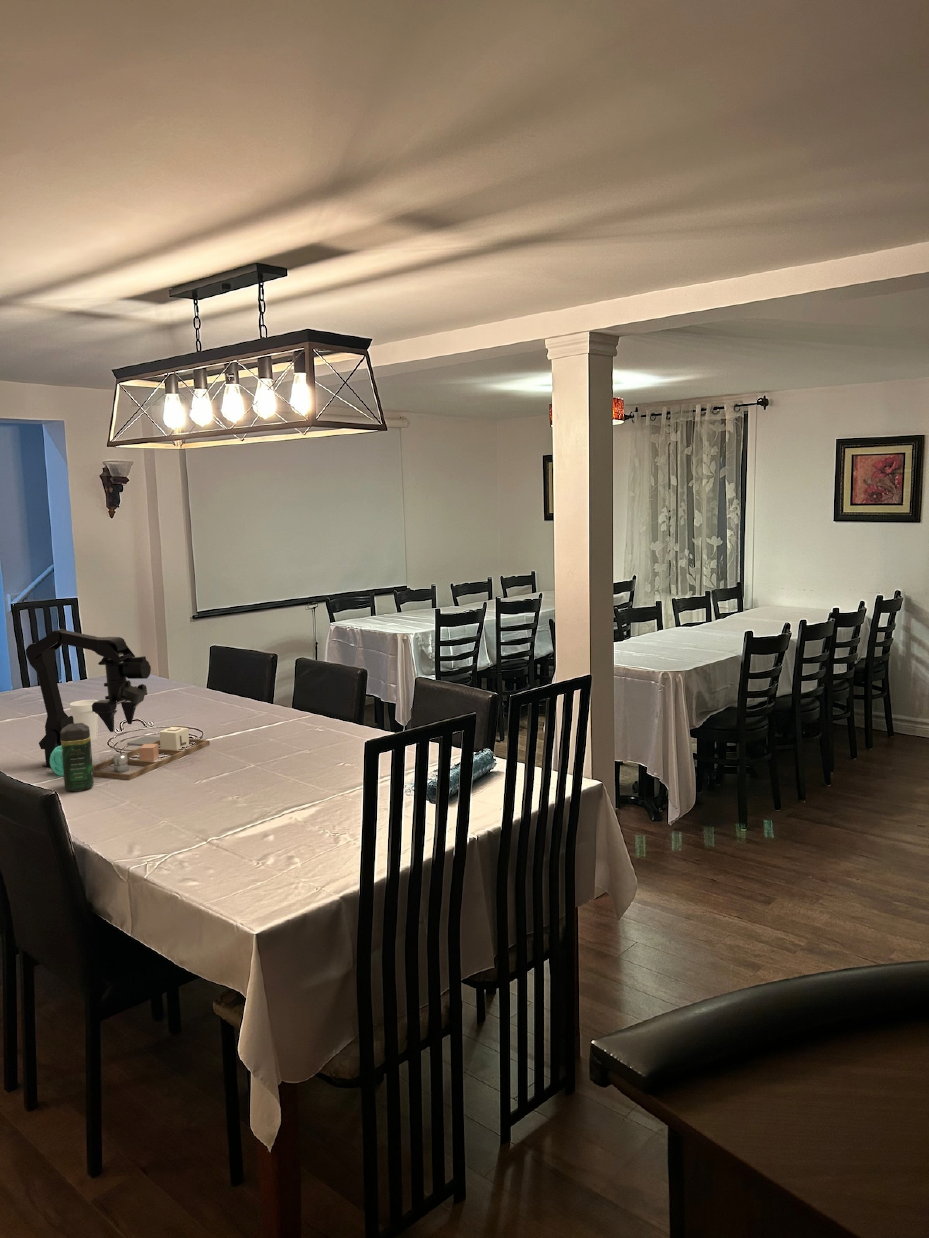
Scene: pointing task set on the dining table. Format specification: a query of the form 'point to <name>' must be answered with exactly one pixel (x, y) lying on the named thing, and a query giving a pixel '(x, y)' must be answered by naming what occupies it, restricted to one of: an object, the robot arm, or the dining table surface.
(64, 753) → the coffee jar
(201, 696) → the dining table surface
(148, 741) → the slate pad
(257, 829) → the dining table surface
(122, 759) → the grey metal canister
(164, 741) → the letter cube
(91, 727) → the foam cup
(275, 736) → the dining table surface
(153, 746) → the terracotta block
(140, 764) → the walnut rack
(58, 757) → the teal round container
